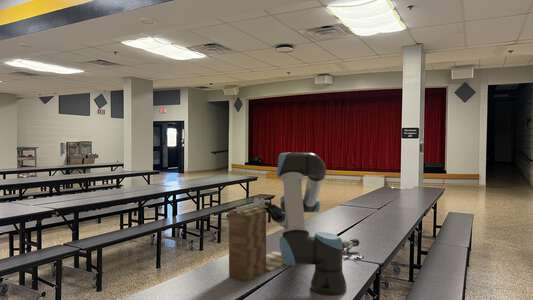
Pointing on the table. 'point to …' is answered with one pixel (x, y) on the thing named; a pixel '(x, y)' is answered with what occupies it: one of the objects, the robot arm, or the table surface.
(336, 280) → the robot arm
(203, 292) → the table surface
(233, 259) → the wooden rectangular column
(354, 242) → the figurine
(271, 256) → the board
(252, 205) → the block
